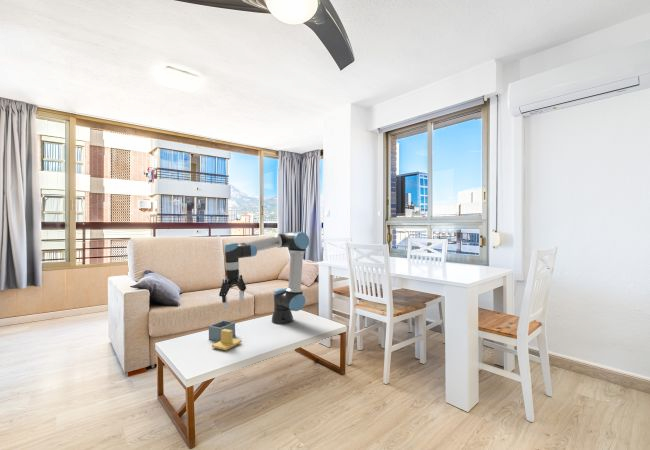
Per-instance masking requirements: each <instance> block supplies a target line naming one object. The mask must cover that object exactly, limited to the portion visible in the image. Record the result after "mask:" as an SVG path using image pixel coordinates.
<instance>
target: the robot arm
mask: <svg viewBox="0 0 650 450" xmlns="http://www.w3.org/2000/svg"><path fill="white" fill-rule="evenodd" d="M309 245H310V237H309V236H308V235H307V233H306V232H303V231H286V232H281V233H278V234H275V235H274V236H271V237H266V238H265V237H264V238H259V239H255V240H250V241H246V242H240V243H238V242H228V243H225V244H224V257H225V259H224V261H225V269H226V270H225V276H226V278H223V279H222V283H221V287H220V291H219V294H218V296H219V297H221V301H222V308H224V309H228V306H229V305H228V296H227V295H228V293H229V291H230V289H231V288H232V286H234V285H236V287H237V288H238V289H239V291H238V293H239V296H238V297H239V302H245V299H244V298H245V297H244V296H245V291H246V289H247V285H246V283H245V282H244V278H243V275H242V274H240V269H239V268H240V266H239V265H240V262H239V259H241V258H242V259H243V258H252V257H255V256H257V254H258V252H260V251H265V250H269V249H274V248H288V251H289V253H290V259H289V272H288V273H289V274H288V275H289V276H288V286H287V287H283V288H277V289H275V290H274V292H273V314H272V316H271V322H272V323H274V324H276V325H277V324H278V325H283V324H285V325H286V324H289V323H291V322H293V321H294V316H293V314H292V311H293V312H299V311H301V310H302V309H303V308H304V306H305V305H306V298H305V295H303V291H304V290H303V289H302V275H303V274H302V273H303V259H304V258H303V257H304V254H305V253H306V249H307V248H308V247H309Z"/></svg>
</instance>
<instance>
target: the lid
mask: <svg viewBox="0 0 650 450" xmlns="http://www.w3.org/2000/svg"><path fill="white" fill-rule="evenodd" d="M241 343H243V342H242V339H238V338H234V336H233V330H228V329H223V330H221V341H216V342H215V343H212V344H211V348H214V349H219V350H223V351H227V350H229V349H231V348H233V347H235V346H237V345H240V344H241Z"/></svg>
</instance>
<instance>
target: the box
mask: <svg viewBox="0 0 650 450" xmlns="http://www.w3.org/2000/svg"><path fill="white" fill-rule="evenodd" d="M223 329H228V330H233V337H234V336H236V322H234V321H228V320H224V319H223V320H221V321H219V322H215V323H213V324H211V325H209V326H208V340H211V341H212V340H213V341H216V342H219V341H221V330H223Z"/></svg>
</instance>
